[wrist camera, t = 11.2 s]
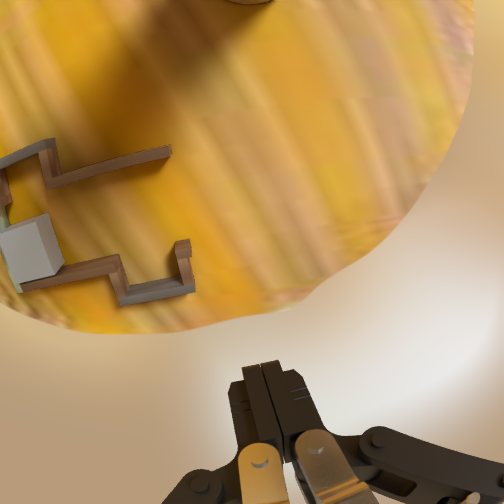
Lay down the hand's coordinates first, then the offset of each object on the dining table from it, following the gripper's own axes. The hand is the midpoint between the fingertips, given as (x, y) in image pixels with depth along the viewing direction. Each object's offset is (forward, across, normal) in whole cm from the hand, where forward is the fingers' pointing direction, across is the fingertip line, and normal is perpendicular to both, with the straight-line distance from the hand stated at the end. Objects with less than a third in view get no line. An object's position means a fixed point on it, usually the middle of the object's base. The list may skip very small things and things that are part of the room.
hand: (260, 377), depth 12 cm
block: (+22, +21, -1) cm, 31 cm away
